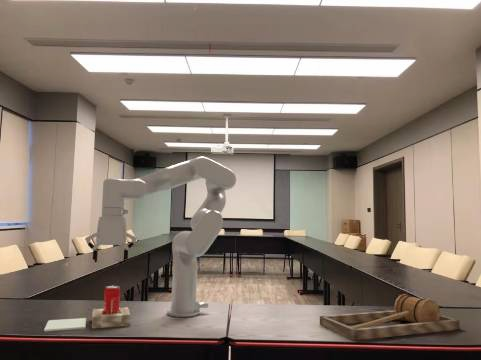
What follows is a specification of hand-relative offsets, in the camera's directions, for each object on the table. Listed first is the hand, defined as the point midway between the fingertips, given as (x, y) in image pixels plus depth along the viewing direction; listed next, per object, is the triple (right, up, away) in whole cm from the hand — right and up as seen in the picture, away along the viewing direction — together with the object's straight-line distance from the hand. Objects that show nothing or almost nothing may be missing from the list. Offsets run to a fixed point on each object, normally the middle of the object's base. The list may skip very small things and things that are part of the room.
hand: (110, 261), depth 132 cm
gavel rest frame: (+99, -23, 0) cm, 101 cm away
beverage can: (+1, -21, -3) cm, 21 cm away
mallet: (+98, -24, -1) cm, 101 cm away
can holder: (+1, -21, -3) cm, 21 cm away
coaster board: (-12, -20, -8) cm, 24 cm away
